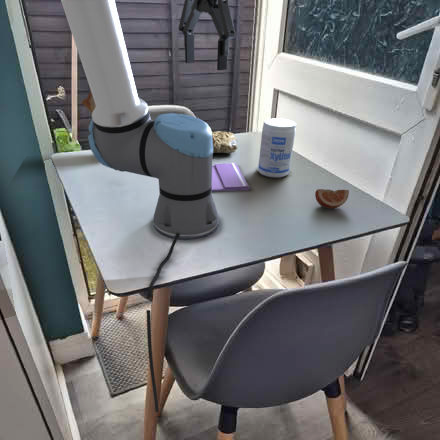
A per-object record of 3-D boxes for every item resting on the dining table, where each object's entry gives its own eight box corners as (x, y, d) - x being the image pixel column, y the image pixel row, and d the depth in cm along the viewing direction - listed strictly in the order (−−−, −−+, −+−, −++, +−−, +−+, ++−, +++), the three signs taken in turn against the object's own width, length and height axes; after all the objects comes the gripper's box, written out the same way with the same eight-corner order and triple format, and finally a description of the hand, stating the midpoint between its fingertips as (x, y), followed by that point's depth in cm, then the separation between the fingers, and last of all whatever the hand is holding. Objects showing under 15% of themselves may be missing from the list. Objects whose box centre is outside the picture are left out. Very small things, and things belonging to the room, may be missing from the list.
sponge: (228, 149, 138) (173, 139, 132) (235, 128, 133) (178, 117, 127) (235, 169, 130) (177, 160, 124) (242, 148, 124) (181, 136, 118)
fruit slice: (340, 202, 104) (345, 184, 101) (349, 213, 99) (353, 195, 96) (310, 202, 104) (313, 184, 101) (316, 213, 98) (320, 195, 95)
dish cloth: (249, 190, 109) (249, 186, 108) (203, 192, 107) (203, 187, 106) (236, 166, 122) (236, 162, 122) (195, 167, 120) (195, 164, 120)
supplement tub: (270, 180, 114) (276, 128, 105) (251, 170, 120) (256, 119, 111) (295, 175, 118) (303, 124, 109) (276, 165, 125) (282, 116, 115)
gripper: (254, -35, 88) (247, 71, 101) (186, -35, 102) (188, 59, 115) (230, -37, 84) (225, 74, 97) (163, -37, 98) (167, 60, 111)
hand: (205, 66), depth 106 cm, fingers open, 13 cm apart
